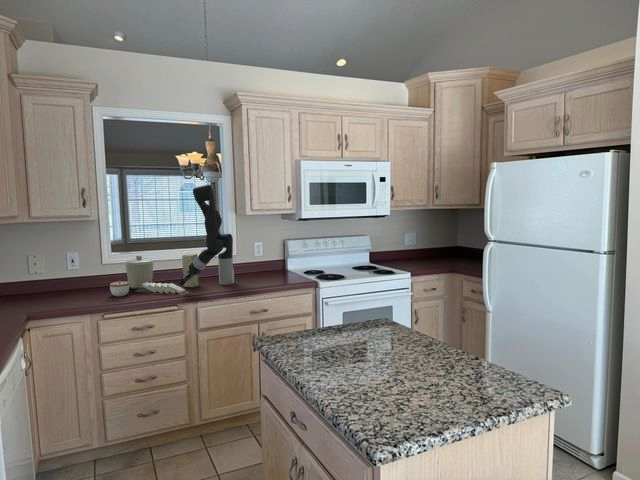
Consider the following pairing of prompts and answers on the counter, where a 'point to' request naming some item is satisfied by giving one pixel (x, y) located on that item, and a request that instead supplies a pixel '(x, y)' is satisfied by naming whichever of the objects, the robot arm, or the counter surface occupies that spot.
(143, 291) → the domino
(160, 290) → the domino
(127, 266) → the canister
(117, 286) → the lidded jar
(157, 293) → the runner
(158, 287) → the domino
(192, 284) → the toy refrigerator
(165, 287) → the domino
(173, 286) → the domino
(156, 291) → the domino
